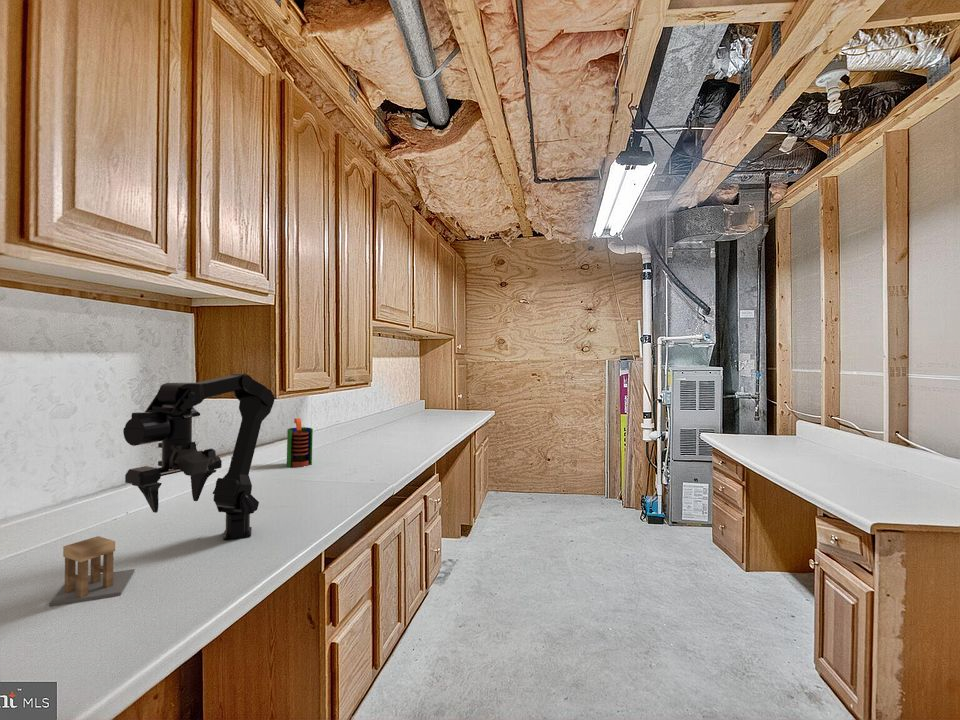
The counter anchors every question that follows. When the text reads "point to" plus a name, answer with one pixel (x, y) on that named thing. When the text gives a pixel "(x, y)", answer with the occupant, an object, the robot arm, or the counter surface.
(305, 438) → the motor
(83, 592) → the stool
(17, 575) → the counter surface
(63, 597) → the mat
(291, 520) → the counter surface
